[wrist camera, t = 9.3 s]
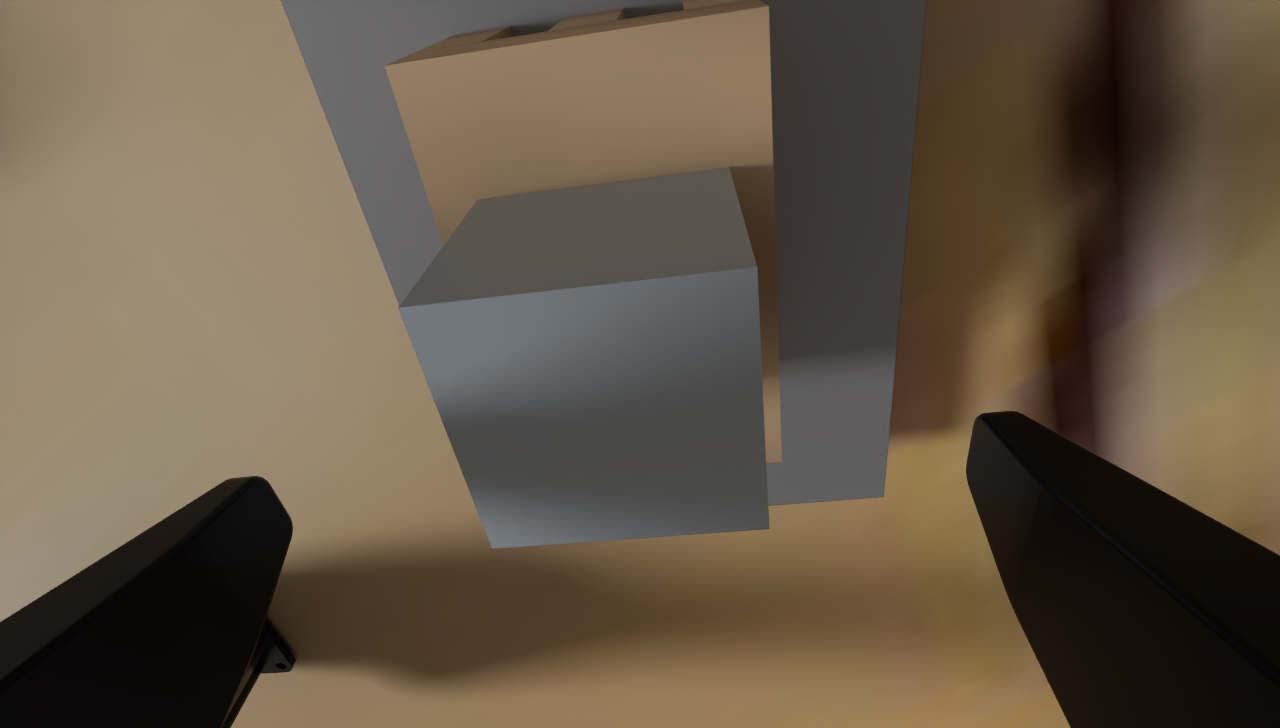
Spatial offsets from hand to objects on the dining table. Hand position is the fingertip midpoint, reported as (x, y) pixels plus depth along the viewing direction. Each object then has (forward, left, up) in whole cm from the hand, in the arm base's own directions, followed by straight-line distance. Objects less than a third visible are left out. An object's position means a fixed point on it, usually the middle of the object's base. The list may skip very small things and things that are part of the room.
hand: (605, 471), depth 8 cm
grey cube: (0, 0, -5) cm, 5 cm away
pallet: (0, 0, -9) cm, 9 cm away
